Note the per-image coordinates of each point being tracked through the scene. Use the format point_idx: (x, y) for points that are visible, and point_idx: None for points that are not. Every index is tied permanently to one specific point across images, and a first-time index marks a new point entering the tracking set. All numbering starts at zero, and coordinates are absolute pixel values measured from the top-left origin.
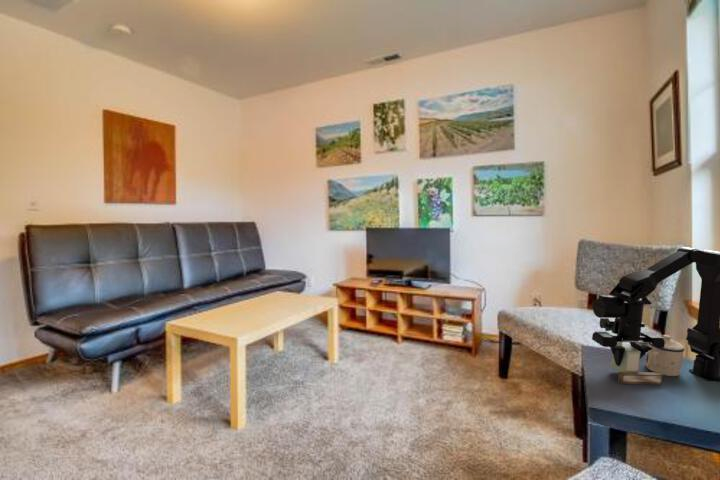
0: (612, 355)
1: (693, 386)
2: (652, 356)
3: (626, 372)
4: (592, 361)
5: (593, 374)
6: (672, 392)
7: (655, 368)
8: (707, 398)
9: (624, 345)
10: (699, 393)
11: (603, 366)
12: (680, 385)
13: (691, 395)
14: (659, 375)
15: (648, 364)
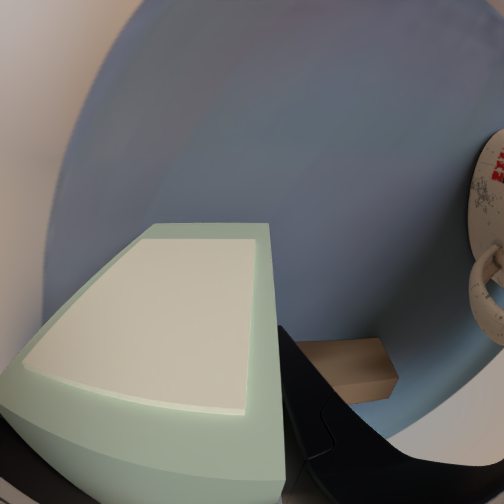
0: (97, 276)
1: (474, 347)
2: (499, 337)
3: None
4: (129, 58)
5: (55, 260)
6: (349, 404)
7: (482, 241)
8: (424, 409)
9: (152, 498)
10: (438, 389)
11: (160, 132)
12: (443, 350)
13: (397, 407)
14: (370, 399)
15: (488, 191)
